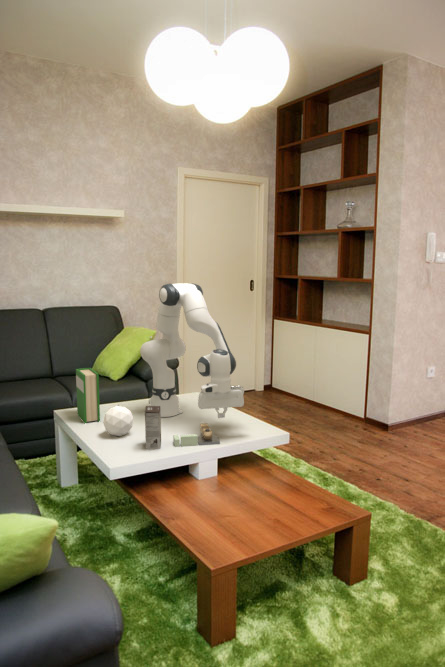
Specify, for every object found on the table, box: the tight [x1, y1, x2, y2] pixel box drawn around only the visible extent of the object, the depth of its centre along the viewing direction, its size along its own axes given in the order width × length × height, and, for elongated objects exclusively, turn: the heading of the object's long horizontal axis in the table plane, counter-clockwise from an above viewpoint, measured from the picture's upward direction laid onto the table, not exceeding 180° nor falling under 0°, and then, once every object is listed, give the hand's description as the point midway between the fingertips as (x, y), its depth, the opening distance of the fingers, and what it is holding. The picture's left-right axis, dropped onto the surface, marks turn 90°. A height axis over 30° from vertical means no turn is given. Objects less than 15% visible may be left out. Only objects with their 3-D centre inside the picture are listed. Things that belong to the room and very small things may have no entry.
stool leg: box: [199, 422, 213, 440], centre depth 234 cm, size 14×4×4 cm, turn 11°
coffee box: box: [144, 405, 162, 450], centre depth 223 cm, size 9×6×16 cm
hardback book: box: [75, 367, 101, 424], centre depth 264 cm, size 18×7×24 cm, turn 26°
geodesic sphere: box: [102, 404, 135, 437], centre depth 238 cm, size 14×14×14 cm
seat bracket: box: [172, 433, 199, 448], centre depth 226 cm, size 6×10×4 cm, turn 101°
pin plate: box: [197, 434, 221, 446], centre depth 229 cm, size 9×9×1 cm
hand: (221, 417), depth 233 cm, fingers closed
